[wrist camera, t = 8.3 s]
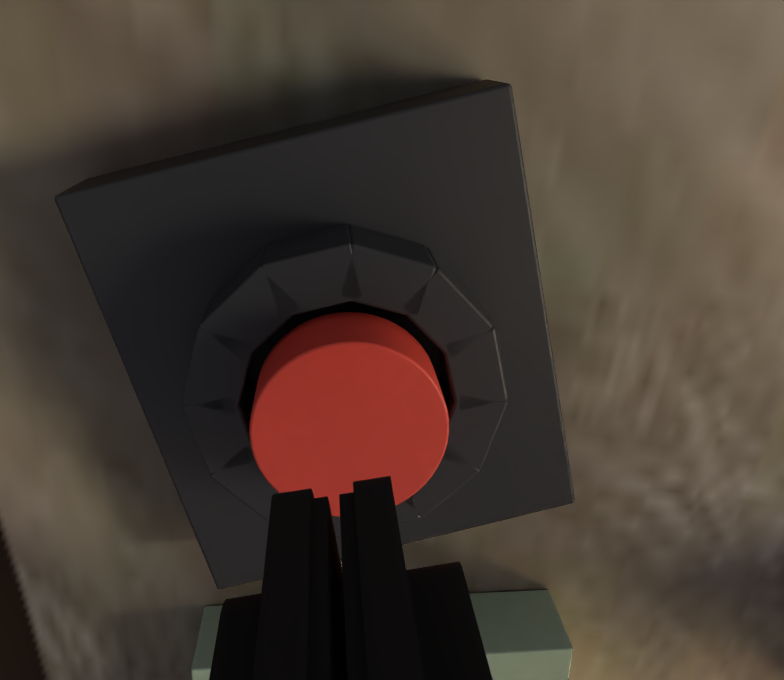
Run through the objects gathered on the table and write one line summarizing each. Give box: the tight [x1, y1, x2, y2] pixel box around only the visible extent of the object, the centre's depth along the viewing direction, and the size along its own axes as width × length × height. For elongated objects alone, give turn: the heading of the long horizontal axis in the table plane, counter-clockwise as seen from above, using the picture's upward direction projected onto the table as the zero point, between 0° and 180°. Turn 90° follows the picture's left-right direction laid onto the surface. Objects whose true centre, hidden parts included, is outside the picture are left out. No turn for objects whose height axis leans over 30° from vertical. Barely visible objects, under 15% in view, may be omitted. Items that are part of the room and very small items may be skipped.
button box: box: [55, 80, 575, 589], centre depth 17 cm, size 11×10×4 cm
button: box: [249, 312, 449, 517], centre depth 15 cm, size 4×4×2 cm
